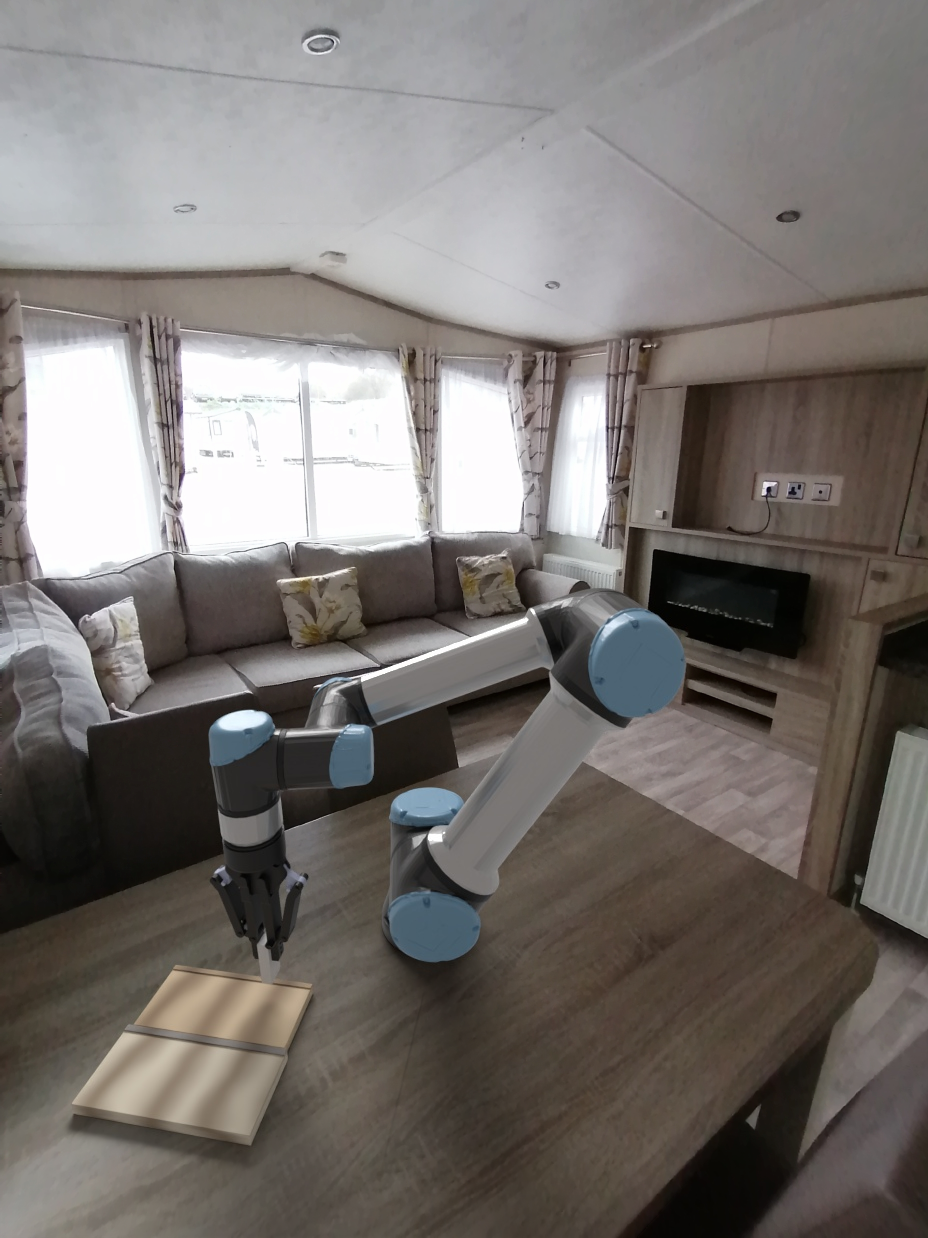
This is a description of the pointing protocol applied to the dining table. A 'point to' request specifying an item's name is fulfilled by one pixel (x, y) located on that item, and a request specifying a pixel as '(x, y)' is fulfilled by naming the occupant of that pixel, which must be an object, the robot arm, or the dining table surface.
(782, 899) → the dining table surface
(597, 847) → the dining table surface
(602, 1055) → the dining table surface
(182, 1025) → the plank
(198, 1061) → the laid board
